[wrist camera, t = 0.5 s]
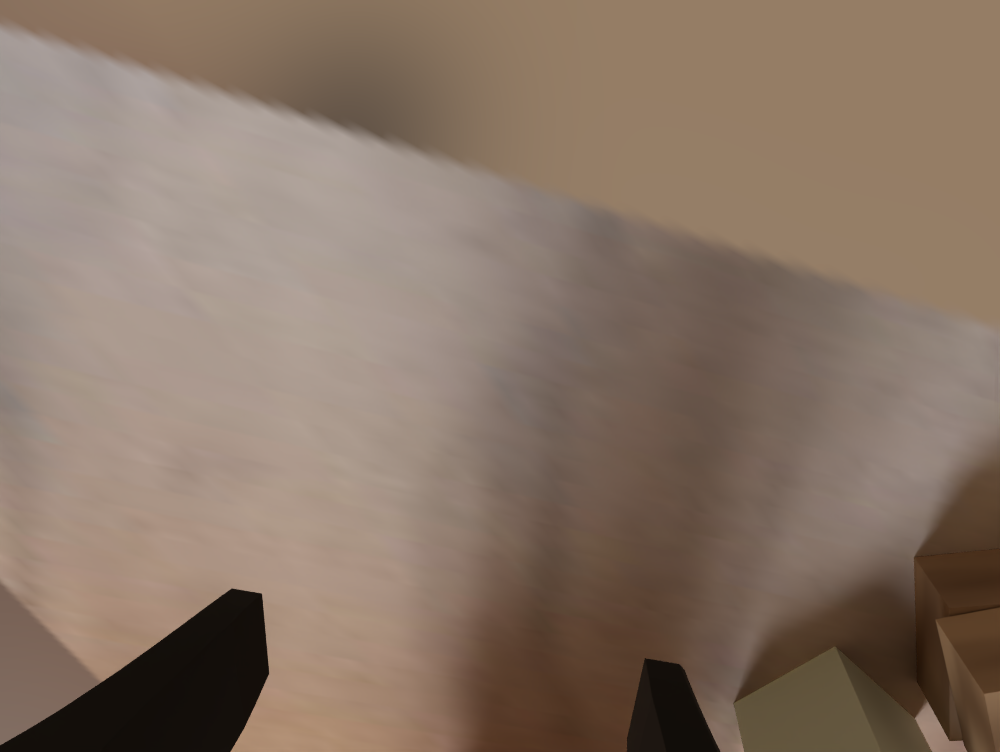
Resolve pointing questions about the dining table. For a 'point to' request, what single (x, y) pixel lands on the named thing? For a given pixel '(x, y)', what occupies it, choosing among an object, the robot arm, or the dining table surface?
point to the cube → (826, 712)
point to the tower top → (974, 675)
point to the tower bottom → (945, 593)
